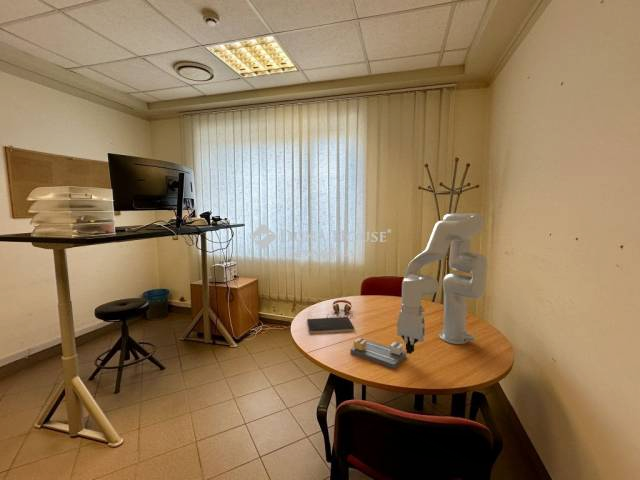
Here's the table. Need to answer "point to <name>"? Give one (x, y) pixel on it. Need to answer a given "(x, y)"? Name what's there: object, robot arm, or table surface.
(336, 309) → the headphones
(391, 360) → the mixer console
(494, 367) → the table surface
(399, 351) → the white fader
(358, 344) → the amber fader
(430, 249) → the robot arm
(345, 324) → the hardcover book
